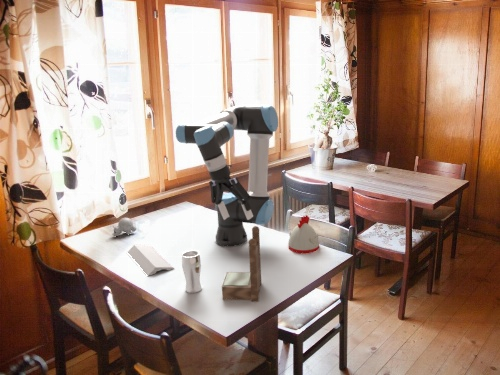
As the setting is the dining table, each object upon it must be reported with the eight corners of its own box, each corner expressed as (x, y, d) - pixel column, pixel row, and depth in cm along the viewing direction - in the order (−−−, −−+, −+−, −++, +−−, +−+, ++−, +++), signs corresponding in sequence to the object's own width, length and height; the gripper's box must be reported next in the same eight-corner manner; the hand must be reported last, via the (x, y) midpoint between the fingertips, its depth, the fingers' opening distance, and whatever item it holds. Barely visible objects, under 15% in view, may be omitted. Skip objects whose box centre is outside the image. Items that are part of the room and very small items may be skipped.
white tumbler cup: (180, 289, 182) (177, 254, 178) (195, 283, 186) (192, 248, 182) (192, 295, 177) (188, 259, 173) (206, 289, 182) (203, 253, 177)
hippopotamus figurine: (113, 239, 242) (105, 226, 238) (133, 226, 247) (125, 213, 243) (118, 243, 236) (110, 230, 232) (138, 229, 241) (130, 216, 237)
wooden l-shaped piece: (222, 301, 172) (218, 240, 165) (228, 282, 186) (224, 225, 180) (258, 301, 171) (255, 240, 164) (261, 282, 185) (259, 225, 178)
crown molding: (174, 270, 200) (173, 262, 199) (146, 278, 194) (145, 270, 193) (151, 247, 224) (150, 240, 223) (126, 254, 218) (125, 247, 217)
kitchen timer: (324, 246, 216) (324, 215, 212) (307, 256, 206) (307, 224, 202) (300, 239, 225) (299, 209, 221) (282, 248, 215) (281, 217, 211)
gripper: (190, 174, 181) (210, 222, 187) (233, 169, 163) (254, 223, 169) (203, 166, 186) (223, 213, 191) (247, 160, 167) (267, 213, 173)
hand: (238, 218), depth 180 cm, fingers open, 13 cm apart
